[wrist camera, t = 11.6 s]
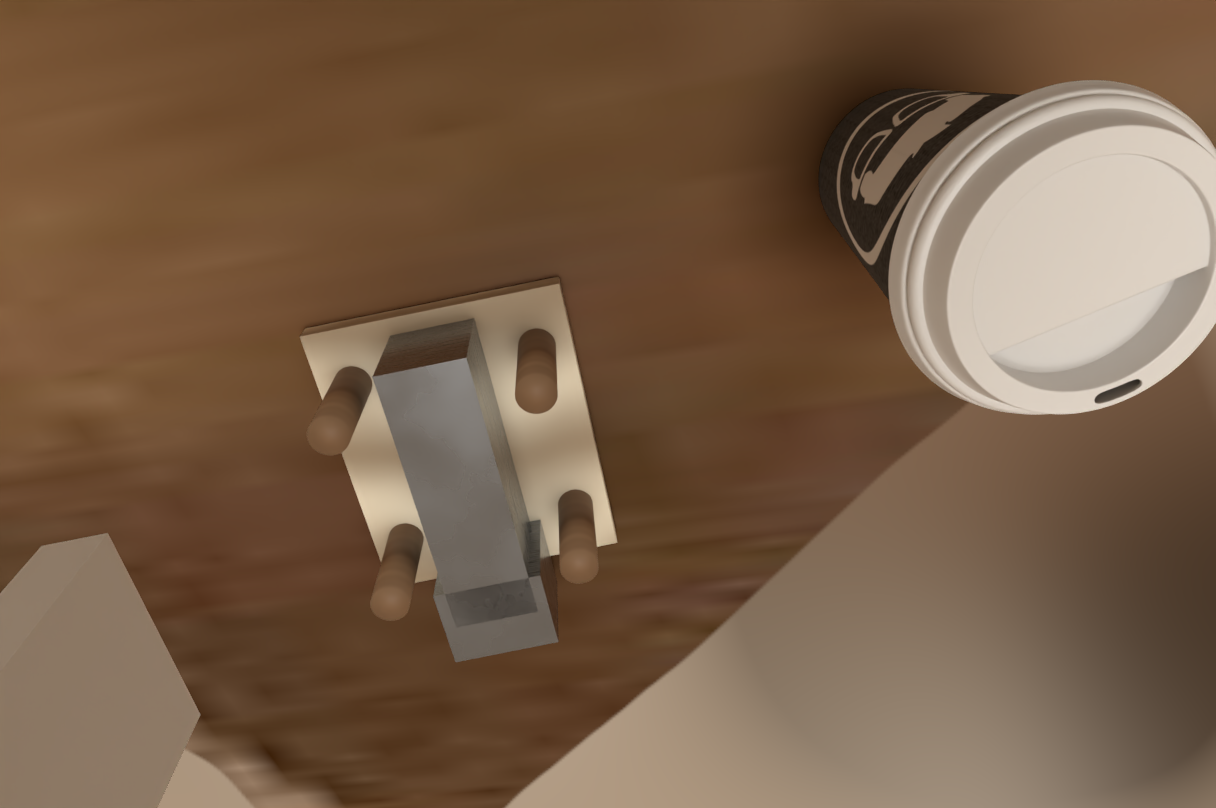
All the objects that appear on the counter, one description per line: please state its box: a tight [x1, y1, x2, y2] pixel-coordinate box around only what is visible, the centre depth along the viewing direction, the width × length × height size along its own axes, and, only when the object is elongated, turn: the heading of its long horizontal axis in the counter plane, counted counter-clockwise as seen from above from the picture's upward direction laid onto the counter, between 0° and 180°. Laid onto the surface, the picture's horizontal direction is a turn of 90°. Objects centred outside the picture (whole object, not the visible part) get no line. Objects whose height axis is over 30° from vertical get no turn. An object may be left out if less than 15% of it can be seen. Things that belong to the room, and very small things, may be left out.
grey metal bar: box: [372, 318, 558, 662], centre depth 39 cm, size 14×5×4 cm, turn 11°
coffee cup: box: [819, 80, 1216, 414], centre depth 31 cm, size 10×10×15 cm
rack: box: [300, 277, 617, 621], centre depth 39 cm, size 13×11×6 cm
